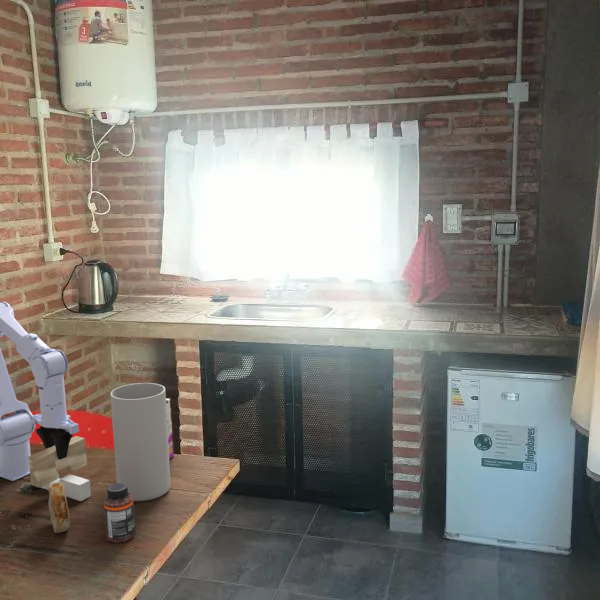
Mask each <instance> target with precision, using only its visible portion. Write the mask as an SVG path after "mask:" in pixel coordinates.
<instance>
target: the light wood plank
mask: <svg viewBox="0 0 600 600" xmlns="http://www.w3.org/2000/svg"><path fill="white" fill-rule="evenodd" d="M28 459H29V469H30V474H29V477H30V478H29V479H30V485H31V486H34V487H36V488H41V487H42V486H44V485H46V484H48V483H50V482H52V481H54V480H56V479H57V474H56V471H60V470H64V471H65V472H69V473H73V472H76V471H77V470H79V469H81V468H83V467H85V466H87V465H88V459H87V448H86V438H85V437H81V436H78V435H76V436H72V438H71V440H70V443H69V447H68V453H67V457H65V458H63V459H61V460H59V459H58V457H57V453H56V447H55V445H54V446H52V447H50V448H47V449H45V448H44V449H43V450H41V451H39V452H36V453H33V454H31V456H29V457H28Z"/></svg>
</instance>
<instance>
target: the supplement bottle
mask: <svg viewBox="0 0 600 600" xmlns="http://www.w3.org/2000/svg"><path fill="white" fill-rule="evenodd" d="M103 499H104V500H103V510H104V521H105V522H104V523H105V534H106V538H107V541H108V542H111V543H114V544H115V543H116V544H120V543H121V544H122V543H125V542H127V541H129V540H131V539H133V538H134V536H135V535H136V521H135V507H134V506H135V505H134V501H133V496H132V494H131V493H129V492H128V488H127V485H126V484H125V483H117V482H114V483H111V484H109V486H108V487H107V495H106V496H105V497H104V498H103Z"/></svg>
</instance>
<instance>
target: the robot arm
mask: <svg viewBox="0 0 600 600" xmlns="http://www.w3.org/2000/svg"><path fill="white" fill-rule="evenodd" d="M2 336H5V337H7V338H8V339H10V340H11V341H12V342H13V343H15V344H16V347H15V349H16V352H17V353H18V354H19V355H21V357H22V358H23V359H24V360H25V361H26V362H27V363H28V364H29V365H30V369H31V373H32V374H33V377H34V381H35V382H34V383H35V384H36V386H37V387H38V397H39V406H40V407H39V409H40V413H36V414H34V415H33V413H32V412H31V410H30V407H29V405H28V404H27V403H25V402H22V401H20V400H18V399H17V396H16V393H15V390H14V386H13V384H12V380H11V378H10V375H9V371H8V367H7V365H6V362H5V358H4V355H3V352H2V349H1V348H0V478H3V479H5V480H8V481H11V482H15V481H18V480H19V479H21V478H24V477H26V476H28V475H29V476H30V469H29V459H28V457H29V456H31V455H32V453H31V444H30V438H31V437H32V434H33V433H34V432H35V433H36V434H37V436H38V437H39V438H40V440H41V441H42V444H43V446H44V450H45V449H47V448H50V447H52V446H54V445H55V447H56V453H57V457H58V459H59V460H61V459H63V458H65V457H67V453H68V447H69V443H70V440H71V438H73V437H74V436H73V435H74V434H77V433H79V432H80V428H79V426H80V425H79V424H78V423H76V422H74V421H73V420H71V415H69V414H67V401H66V389H65V387H66V386H65V379H64V374H66V372H67V371H68V369H69V361H68V358H67V356H66V354H65V353H64V352H63V351H62V350H61V349H55V348H51V347H50V346H48V345H47V344H46V343H45V342H44V341H43V340H42V339H41V338H40V337H39V336H38V335H37V334H35V333H28V332H27V331H26V329H25V328H23V326H22V325H21V324H20V323H19V322H18V320H17V319H16V318H15V312H14V308H13V307H11V305H10V304H9V303H8V302H6V301H1V302H0V338H2ZM11 413H12V414H11ZM5 415H7V416H5ZM2 416H3V417H2ZM37 424H38V425H40V426H39V427H38V428H36V425H37Z"/></svg>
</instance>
